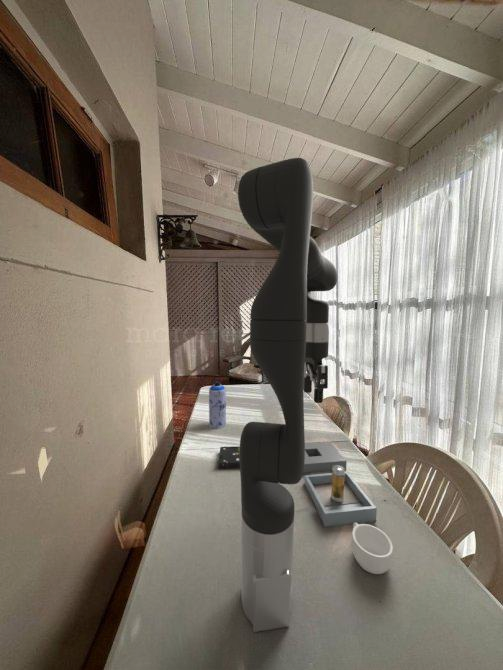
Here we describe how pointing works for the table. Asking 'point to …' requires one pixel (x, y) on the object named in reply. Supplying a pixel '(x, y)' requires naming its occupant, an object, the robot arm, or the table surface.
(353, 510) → the parts tray
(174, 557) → the table surface
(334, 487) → the fuse
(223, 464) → the disk drive
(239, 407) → the table surface
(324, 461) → the board
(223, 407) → the aerosol can
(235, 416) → the table surface
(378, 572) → the teacup
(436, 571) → the table surface
